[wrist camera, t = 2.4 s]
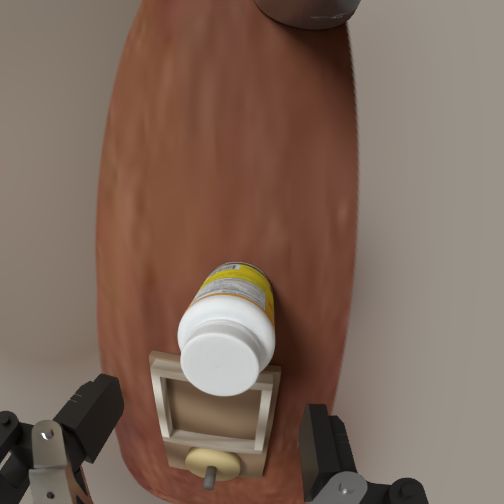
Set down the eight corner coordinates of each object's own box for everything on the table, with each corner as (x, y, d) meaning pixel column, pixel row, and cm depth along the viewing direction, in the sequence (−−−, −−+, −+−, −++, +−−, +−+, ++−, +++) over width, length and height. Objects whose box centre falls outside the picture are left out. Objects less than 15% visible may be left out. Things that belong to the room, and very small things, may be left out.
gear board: (152, 350, 25) (129, 384, 20) (280, 365, 24) (282, 406, 19) (171, 460, 29) (161, 491, 24) (261, 473, 29) (260, 505, 24)
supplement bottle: (251, 334, 24) (241, 421, 14) (193, 302, 23) (149, 376, 14) (287, 281, 23) (299, 353, 13) (225, 246, 22) (191, 295, 12)
